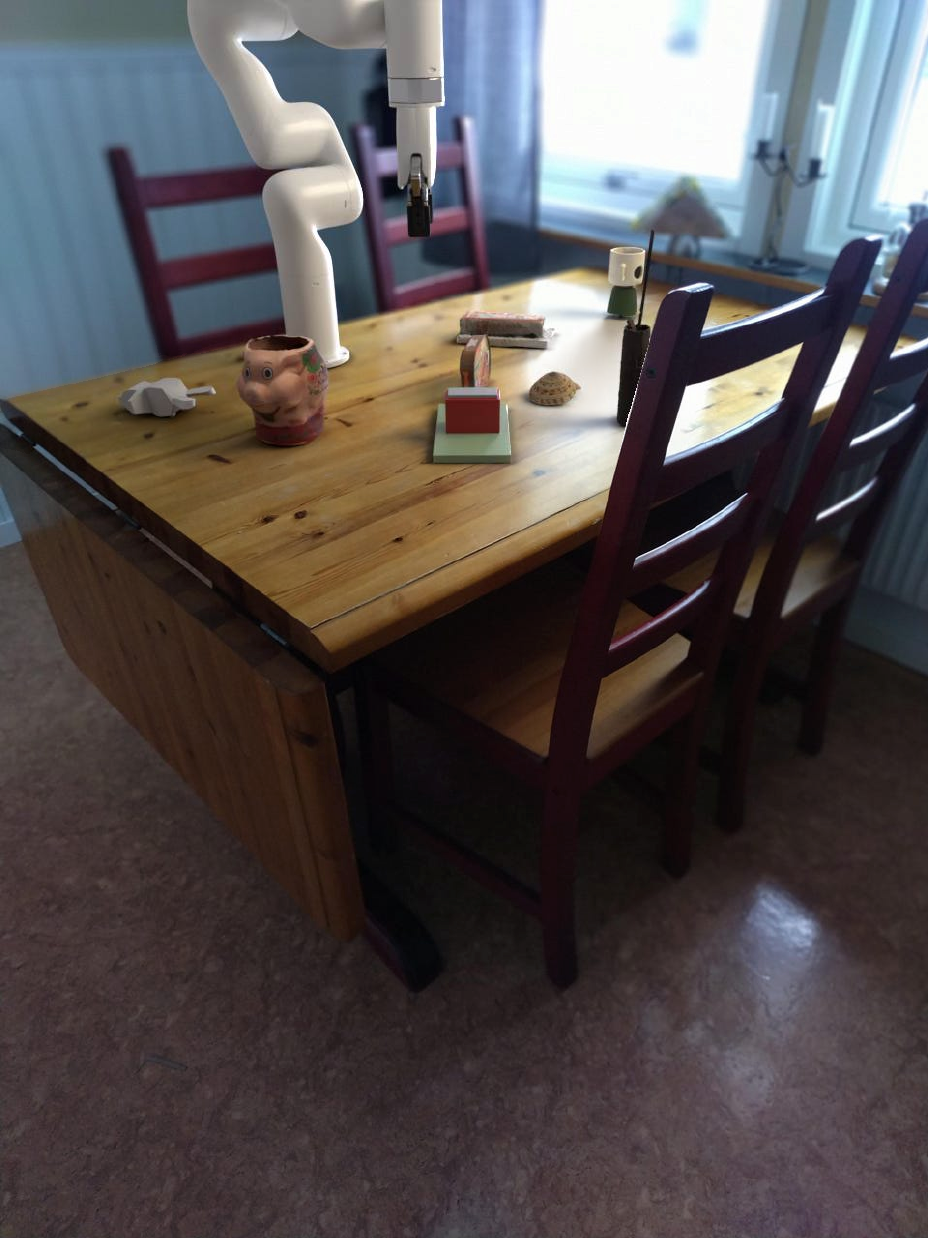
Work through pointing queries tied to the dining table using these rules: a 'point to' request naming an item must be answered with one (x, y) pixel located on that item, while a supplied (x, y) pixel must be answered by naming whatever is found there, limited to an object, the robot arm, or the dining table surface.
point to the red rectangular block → (472, 410)
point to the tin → (476, 362)
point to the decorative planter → (284, 388)
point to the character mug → (625, 279)
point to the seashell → (553, 389)
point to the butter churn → (633, 353)
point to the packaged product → (505, 329)
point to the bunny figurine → (161, 397)
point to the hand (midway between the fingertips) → (421, 229)
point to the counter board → (472, 443)
